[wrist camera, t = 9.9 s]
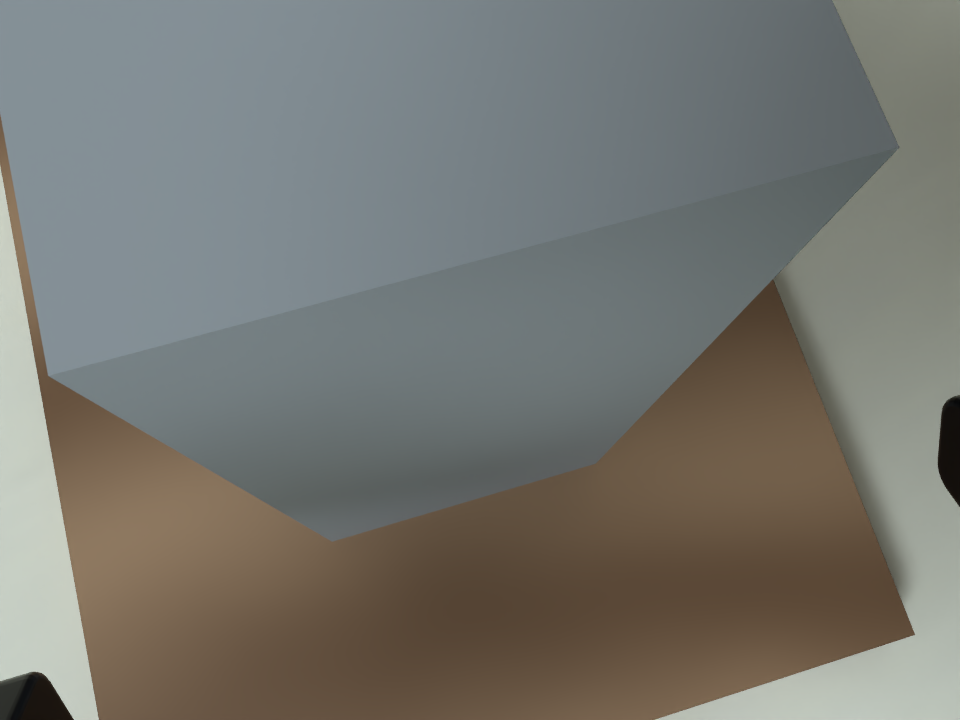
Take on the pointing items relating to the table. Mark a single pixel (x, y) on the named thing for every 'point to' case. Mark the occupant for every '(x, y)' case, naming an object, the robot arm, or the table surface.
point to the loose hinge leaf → (413, 221)
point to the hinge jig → (484, 565)
